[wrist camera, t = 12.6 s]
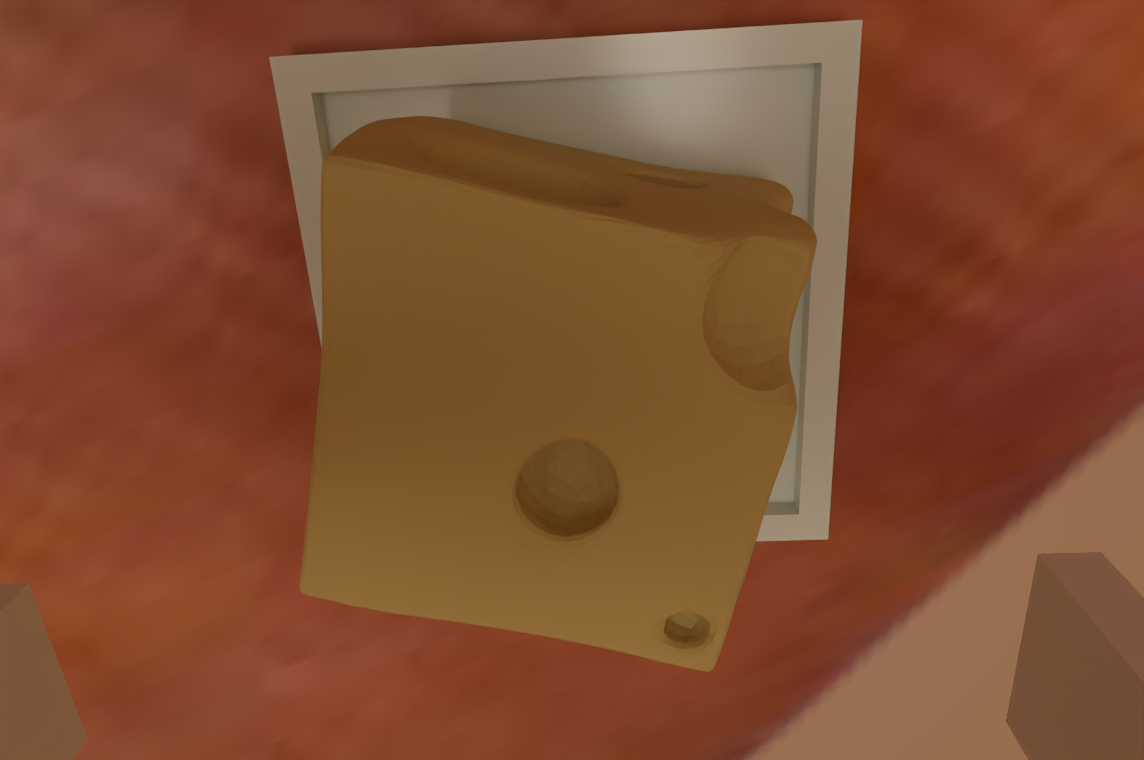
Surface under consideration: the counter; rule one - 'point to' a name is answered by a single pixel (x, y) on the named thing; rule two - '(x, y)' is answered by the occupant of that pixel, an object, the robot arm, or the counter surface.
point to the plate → (638, 156)
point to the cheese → (548, 386)
